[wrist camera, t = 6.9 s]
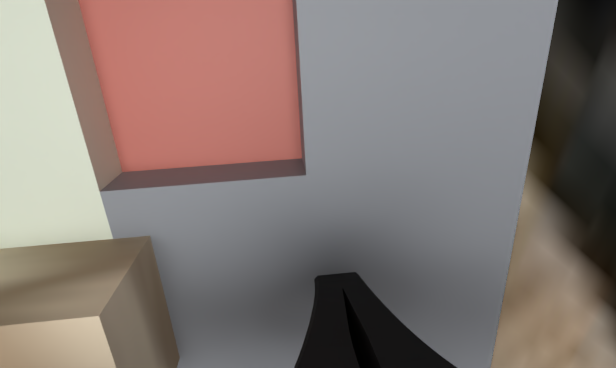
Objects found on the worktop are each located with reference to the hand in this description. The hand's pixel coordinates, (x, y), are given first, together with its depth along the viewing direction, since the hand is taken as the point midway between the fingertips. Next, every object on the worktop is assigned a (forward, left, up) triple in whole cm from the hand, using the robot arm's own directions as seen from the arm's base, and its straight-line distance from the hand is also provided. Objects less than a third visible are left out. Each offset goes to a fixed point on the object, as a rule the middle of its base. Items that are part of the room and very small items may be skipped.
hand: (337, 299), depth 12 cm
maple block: (+8, 0, -1) cm, 8 cm away
